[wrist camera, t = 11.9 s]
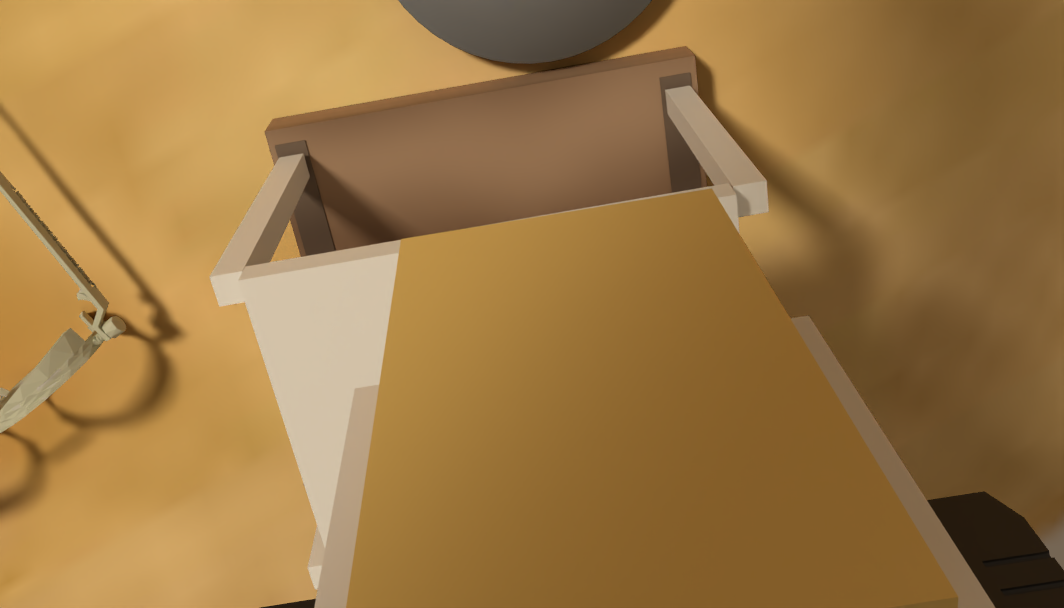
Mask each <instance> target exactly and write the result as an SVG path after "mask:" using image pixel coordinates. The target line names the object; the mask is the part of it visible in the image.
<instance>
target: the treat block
mask: <svg viewBox="0 0 1064 608" xmlns="http://www.w3.org/2000/svg"><path fill="white" fill-rule="evenodd" d="M346 608H958V595H957V594H956V592H955V590H954V589H953V587H952V585H951V584H950V582H949V580H948V579H947V577H946V575H945V574H944V572H943V571H942V569H941V567H940V566H939V564H938V562H937V561H936V559H935V557H934V556H933V554H932V552H931V551H930V549H929V547H928V546H927V544H926V542H925V541H924V539H923V537H922V536H921V534H920V532H919V531H918V529H917V527H916V526H915V524H914V522H913V521H912V519H911V517H910V516H909V514H908V513H907V511H906V509H905V508H904V506H903V504H902V503H901V501H900V499H899V498H898V496H897V494H896V493H895V491H894V489H893V488H892V486H891V484H890V483H889V481H888V479H887V478H886V476H885V474H884V473H883V471H882V469H881V468H880V466H879V464H878V463H877V461H876V460H875V458H874V456H873V455H872V453H871V451H870V450H869V448H868V446H867V445H866V443H865V441H864V440H863V438H862V436H861V435H860V433H859V431H858V430H857V428H856V426H855V425H854V423H853V421H852V420H851V418H850V416H849V415H848V413H847V411H846V410H845V408H844V406H843V405H842V403H841V402H840V400H839V398H838V397H837V395H836V393H835V392H834V390H833V388H832V387H831V385H830V383H829V382H828V380H827V378H826V377H825V375H824V373H823V372H822V370H821V368H820V367H819V365H818V363H817V362H816V360H815V358H814V357H813V355H812V353H811V352H810V350H809V348H808V347H807V345H806V344H805V342H804V340H803V339H802V337H801V335H800V334H799V332H798V330H797V329H796V327H795V325H794V324H793V322H792V320H791V319H790V317H789V315H788V314H787V312H786V310H785V309H784V307H783V305H782V304H781V302H780V300H779V299H778V297H777V295H776V294H775V292H774V291H773V289H772V287H771V286H770V284H769V282H768V281H767V279H766V277H765V276H764V274H763V272H762V271H761V269H760V267H759V266H758V264H757V262H756V261H755V259H754V257H753V256H752V254H751V252H750V251H749V249H748V247H747V246H746V244H745V242H744V241H743V239H742V237H741V236H740V234H739V233H738V231H737V229H736V228H735V226H734V224H733V223H732V221H731V219H730V218H729V216H728V214H727V213H726V211H725V209H724V208H723V206H722V204H721V203H720V201H719V199H718V198H717V196H716V194H715V193H714V191H713V189H712V188H711V189H705V190H699V191H693V192H687V193H680V194H674V195H668V196H662V197H656V198H650V199H644V200H638V201H631V202H625V203H619V204H613V205H607V206H601V207H595V208H588V209H582V210H576V211H570V212H564V213H558V214H552V215H546V216H539V217H533V218H527V219H521V220H515V221H509V222H503V223H497V224H490V225H484V226H478V227H472V228H466V229H460V230H454V231H448V232H441V233H435V234H429V235H423V236H417V237H411V238H405V239H401V242H400V249H399V255H398V262H397V269H396V275H395V282H394V289H393V296H392V302H391V309H390V316H389V322H388V329H387V336H386V343H385V349H384V356H383V363H382V369H381V376H380V383H379V389H378V396H377V403H376V410H375V416H374V423H373V430H372V436H371V443H370V450H369V457H368V463H367V470H366V477H365V483H364V490H363V497H362V503H361V510H360V517H359V524H358V530H357V537H356V544H355V550H354V557H353V564H352V570H351V577H350V584H349V591H348V597H347V604H346Z"/></svg>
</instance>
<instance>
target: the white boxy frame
mask: <svg viewBox="0 0 1064 608" xmlns="http://www.w3.org/2000/svg"><path fill="white" fill-rule="evenodd" d="M665 94H666V103H667V112H668V115H669V117H670V118H671V120H672V121H673V123H674V124H675V126H676V128H677V129H678V131H679V132H680V134H681V135H682V137H683V138H684V140H685V141H686V143H687V144H688V146H689V147H690V149H691V150H692V152H693V154H694V155H695V157H696V158H697V160H698V161H699V163H700V164H701V166H702V167H703V169H704V170H705V172H706V173H707V175H708V176H709V178H710V180H711V181H712V183H713V184H714V186H709V187H703V188H697V189H691V190H686V191H680V192H674V193H668V194H663V195H657V196H651V197H645V198H639V199H634V200H628V201H622V202H616V203H610V204H605V205H599V206H593V207H587V208H582V209H588V208H595V207H601V206H607V205H613V204H619V203H625V202H631V201H638V200H644V199H650V198H656V197H662V196H668V195H674V194H680V193H687V192H693V191H699V190H705V189H711V188H712V189H713V191H714V193H715V194H716V196H717V198H718V199H719V201H720V203H721V204H722V206H723V208H724V209H725V211H726V213H727V214H728V216H729V218H730V219H731V221H732V223H733V224H734V226H735V228H736V229H737V231H738V233H739V222H738V217H743V216H749V215H754V214H760V213H766V212H769V209H768V193H767V180H766V179H765V178H764V177H763V175H762V174H761V173H760V172H759V170H758V169H757V168H756V167H755V165H754V164H753V163H752V162H751V161H750V159H749V158H748V157H747V156H746V154H745V153H744V152H743V151H742V149H741V148H740V147H739V146H738V144H737V143H736V142H735V141H734V139H733V138H732V137H731V136H730V135H729V133H728V132H727V131H726V130H725V128H724V127H723V126H722V125H721V123H720V122H719V121H718V120H717V118H716V117H715V116H714V115H713V113H712V112H711V111H710V110H709V109H708V107H707V106H706V105H705V104H704V102H703V101H702V100H701V99H700V97H699V96H698V95H697V94H696V92H695V91H694V90H693V89H692V87H691V86H684V87H678V88H672V89H667V90H665ZM309 177H310V175H309V172H308V168H307V164H306V161H305V157H304V154H303V153H302V154H297V155H291V156H285V157H280V158H279V159H278V160H277V162H276V164H275V166H274V167H273V169H272V171H271V172H270V174H269V176H268V178H267V179H266V181H265V183H264V184H263V186H262V188H261V189H260V191H259V193H258V195H257V196H256V198H255V200H254V201H253V203H252V205H251V207H250V208H249V210H248V212H247V213H246V215H245V217H244V219H243V220H242V222H241V224H240V225H239V227H238V229H237V231H236V232H235V234H234V236H233V237H232V239H231V241H230V242H229V244H228V246H227V248H226V249H225V251H224V253H223V254H222V256H221V258H220V260H219V261H218V263H217V265H216V266H215V268H214V270H213V272H212V273H211V275H210V280H211V283H212V286H213V289H214V292H215V295H216V298H217V301H218V304H219V306H225V305H231V304H237V303H243V302H245V304H246V307H247V310H248V313H249V316H250V319H251V322H252V326H253V329H254V332H255V335H256V338H257V341H258V344H259V347H260V350H261V353H262V356H263V359H264V362H265V366H266V369H267V372H268V375H269V378H270V381H271V384H272V387H273V390H274V393H275V396H276V399H277V403H278V406H279V409H280V412H281V415H282V418H283V421H284V424H285V427H286V430H287V433H288V436H289V440H290V443H291V446H292V449H293V452H294V455H295V458H296V461H297V464H298V467H299V470H300V473H301V476H302V480H303V483H304V486H305V489H306V492H307V495H308V498H309V501H310V504H311V507H312V510H313V513H314V517H315V520H316V523H317V528H316V533H315V537H314V542H313V546H312V551H311V555H310V559H309V564H308V570H309V573H310V576H311V579H312V582H313V585H314V588H315V589H318V585H319V580H320V574H321V569H322V563H323V558H324V552H325V547H326V542H327V536H328V531H329V525H330V520H331V515H332V509H333V504H334V498H335V493H336V488H337V482H338V477H339V471H340V466H341V461H342V455H343V450H344V444H345V439H346V434H347V428H348V423H349V417H350V412H351V407H352V401H353V396H354V390H355V388H360V387H367V386H373V385H379V383H380V376H381V369H382V363H383V356H384V349H385V343H386V336H387V329H388V322H389V316H390V309H391V302H392V296H393V289H394V282H395V275H396V269H397V262H398V255H399V249H400V242H401V240H396V241H391V242H385V243H379V244H373V245H368V246H362V247H356V248H350V249H344V250H339V251H333V252H327V253H321V254H316V255H310V256H304V257H298V258H292V259H287V260H281V261H275V262H270V261H271V259H272V257H273V254H274V252H275V250H276V248H277V246H278V244H279V242H280V239H281V237H282V235H283V233H284V231H285V229H286V227H287V224H288V222H289V220H290V218H291V216H292V214H293V212H294V210H295V207H296V205H297V203H298V201H299V199H300V197H301V195H302V192H303V190H304V188H305V186H306V184H307V182H308V180H309ZM582 209H576V210H582ZM576 210H570V211H576ZM570 211H564V212H570ZM564 212H558V213H564ZM558 213H553V214H558ZM547 215H552V214H547ZM541 216H546V215H541ZM535 217H539V216H535ZM530 218H533V217H530ZM524 219H527V218H524ZM518 220H521V219H518ZM512 221H515V220H512ZM506 222H509V221H506ZM501 223H503V222H501ZM495 224H497V223H495ZM489 225H490V224H489ZM483 226H484V225H483ZM477 227H478V226H477Z"/></svg>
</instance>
